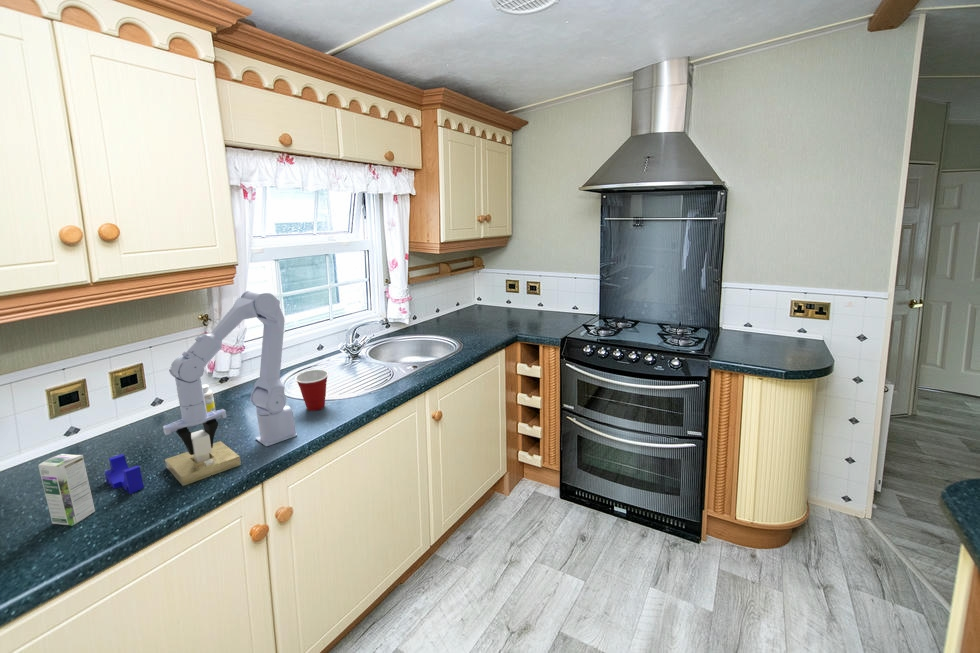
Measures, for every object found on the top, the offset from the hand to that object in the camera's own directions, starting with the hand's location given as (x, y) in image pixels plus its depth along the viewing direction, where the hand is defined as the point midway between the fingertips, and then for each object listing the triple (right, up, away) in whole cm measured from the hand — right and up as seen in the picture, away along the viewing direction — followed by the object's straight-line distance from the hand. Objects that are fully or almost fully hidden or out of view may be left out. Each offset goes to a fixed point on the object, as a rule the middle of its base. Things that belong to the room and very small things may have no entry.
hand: (200, 450), depth 136 cm
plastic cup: (+17, +5, +39) cm, 43 cm away
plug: (0, -3, +1) cm, 4 cm away
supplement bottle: (-18, +3, +36) cm, 40 cm away
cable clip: (-15, -7, -7) cm, 18 cm away
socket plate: (0, -5, +1) cm, 5 cm away
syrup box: (-17, -10, -20) cm, 29 cm away
